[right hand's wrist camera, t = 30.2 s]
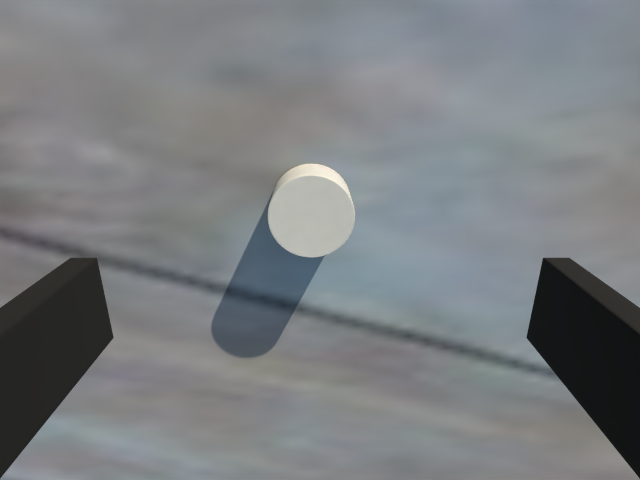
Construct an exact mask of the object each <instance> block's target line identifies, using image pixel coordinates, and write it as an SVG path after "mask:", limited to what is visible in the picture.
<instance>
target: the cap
mask: <svg viewBox="0 0 640 480" xmlns="http://www.w3.org/2000/svg"><path fill="white" fill-rule="evenodd" d="M354 222H355V211H354V206H353V202H352V199H351V196H350V193H349V190H348V187H347V185H346V183H345V182H344V180H343V179H342V178H341V176H340V175H339V174H337V173H336V172H335V171H334V170H332V169H330V168H328V167H326V166H323V165H319V164H304V165H300V166H297V167H294V168H292V169H290V170H289V171H288V172H286V173H285V174H284V175H283V176H282V177H281V178H280V179H279V181H278V182H277V184H276V186H275V189H274V191H273V195H272V198H271V201H270V204H269V208H268V225H269V228H270V231H271V233H272V235H273V237H274V238H275V240H276V241H277V242H278V243H279V244H280V245H281V246H282V247H283V248H284V249H286V250H287V251H289V252H290V253H293V254H295V255H298V256H301V257H310V258H313V257H321V256H325V255H328V254H330V253H332V252H334V251H336V250H337V249H339V248H340V247H341V246H342V245H343V244H344V243H345V242H346V241H347V239H348V238H349V236H350V234H351V232H352V230H353V227H354Z"/></svg>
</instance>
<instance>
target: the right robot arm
mask: <svg viewBox="0 0 640 480" xmlns="http://www.w3.org/2000/svg"><path fill="white" fill-rule="evenodd" d="M112 339H113V333H112V328H111V324H110V319H109V314H108V309H107V304H106V300H105V295H104V290H103V285H102V280H101V276H100V271H99V266H98V261H97V258H70V259H69V260H67V261H66V262H64V263H63V264H61V265H60V266H59V267H57V268H56V269H54V270H53V271H52V272H50V273H49V274H47V275H46V276H45V277H43V278H42V279H40V280H39V281H38V282H36V283H35V284H33V285H32V286H31V287H29V288H28V289H26V290H25V291H23V292H22V293H21V294H19V295H18V296H16V297H15V298H14V299H12V300H11V301H9V302H8V303H7V304H5V305H4V306H2V307H1V308H0V478H1V477H2V475H3V474H4V473H5V472H6V471H7V469H8V468H9V467H10V466H11V464H12V463H13V462H14V461H15V459H16V458H17V457H18V456H19V454H20V453H21V452H22V451H23V449H24V448H25V447H26V446H27V444H28V443H29V442H30V441H31V439H32V438H33V437H34V436H35V434H36V433H37V432H38V431H39V430H40V428H41V427H42V426H43V425H44V423H45V422H46V421H47V420H48V418H49V417H50V416H51V415H52V413H53V412H54V411H55V410H56V408H57V407H58V406H59V405H60V403H61V402H62V401H63V400H64V398H65V397H66V396H67V395H68V393H69V392H70V391H71V390H72V389H73V387H74V386H75V385H76V384H77V382H78V381H79V380H80V379H81V377H82V376H83V375H84V374H85V372H86V371H87V370H88V369H89V367H90V366H91V365H92V364H93V362H94V361H95V360H96V359H97V357H98V356H99V355H100V354H101V352H102V351H103V350H104V349H105V347H106V346H107V345H108V344H109V343H110V341H111V340H112ZM527 339H528V340H529V341H530V343H531V344H532V345H533V346H534V347H535V349H536V350H537V351H538V352H539V354H540V355H541V356H542V357H543V359H544V360H545V361H546V362H547V364H548V365H549V366H550V367H551V369H552V370H553V371H554V372H555V374H556V375H557V376H558V377H559V379H560V380H561V381H562V382H563V384H564V385H565V386H566V387H567V389H568V390H569V391H570V392H571V393H572V395H573V396H574V397H575V398H576V400H577V401H578V402H579V403H580V405H581V406H582V407H583V408H584V410H585V411H586V412H587V413H588V415H589V416H590V417H591V418H592V420H593V421H594V422H595V423H596V425H597V426H598V427H599V428H600V430H601V431H602V432H603V433H604V434H605V436H606V437H607V438H608V439H609V441H610V442H611V443H612V444H613V446H614V447H615V448H616V449H617V451H618V452H619V453H620V454H621V456H622V457H623V458H624V459H625V461H626V462H627V463H628V464H629V466H630V467H631V468H632V469H633V471H634V472H635V473H636V474H637V475H638V477H639V478H640V308H639V307H638V306H636V305H635V304H633V303H632V302H631V301H629V300H628V299H626V298H625V297H624V296H622V295H621V294H619V293H618V292H617V291H615V290H614V289H612V288H611V287H609V286H608V285H607V284H605V283H604V282H602V281H601V280H600V279H598V278H597V277H595V276H594V275H593V274H591V273H590V272H588V271H587V270H586V269H584V268H583V267H581V266H580V265H579V264H577V263H576V262H574V261H573V260H571V259H570V258H543V261H542V266H541V271H540V276H539V280H538V285H537V290H536V295H535V300H534V304H533V309H532V314H531V319H530V324H529V328H528V333H527Z"/></svg>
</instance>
